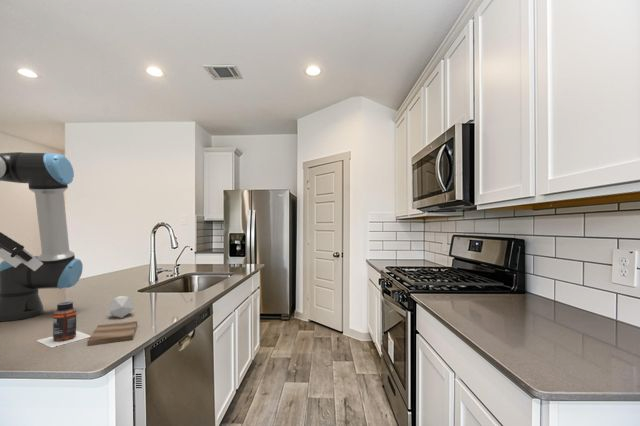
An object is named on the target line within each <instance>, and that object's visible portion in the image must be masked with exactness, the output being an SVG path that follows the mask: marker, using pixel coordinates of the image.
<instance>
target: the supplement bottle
mask: <svg viewBox="0 0 640 426" xmlns="http://www.w3.org/2000/svg"><path fill="white" fill-rule="evenodd" d="M56 307H57V308H56V310H54V311H53V315H52V316H53V317H52V326H53V327H52V336H53V340H55V341H63V340H68V339H71V338H73V337H75V336H76V331H77V309H76V308H75V307H74V302H73V301H64V302H63V301H62V302H59V303H57V305H56Z"/></svg>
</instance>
